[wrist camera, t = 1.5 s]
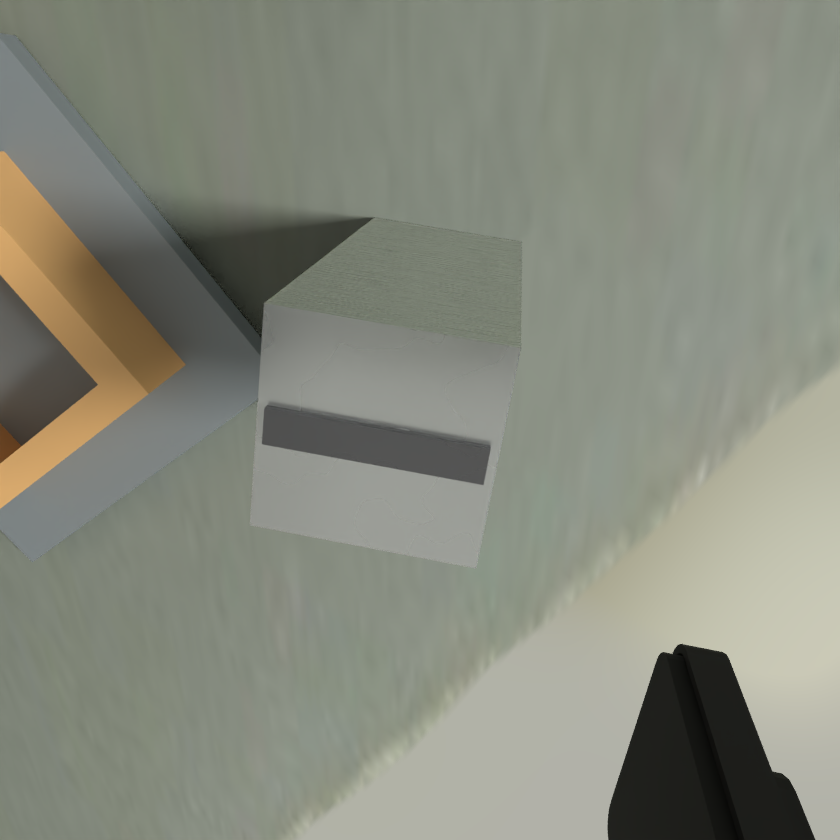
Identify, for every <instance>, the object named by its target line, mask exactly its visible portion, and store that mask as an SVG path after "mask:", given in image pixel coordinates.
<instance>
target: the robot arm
mask: <svg viewBox="0 0 840 840" xmlns="http://www.w3.org/2000/svg"><path fill="white" fill-rule="evenodd" d="M608 839H609V840H815V838H814V835H813V833H812V831H811V828H810V826H809V823H808V821H807V818H806V816H805V813H804V811H803V808H802V806H801V804H800V801H799V799H798V796H797V794H796V791H795V789H794V788H793V786H792V784H791V782H790V780H789V779H788V778H787V777H785V776H784V775H783V774H781V773H776V772H772V770H771V767H770V765H769V762H768V760H767V757H766V754H765V752H764V749H763V747H762V744H761V741H760V739H759V736H758V733H757V731H756V728H755V725H754V723H753V720H752V718H751V715H750V713H749V710H748V707H747V705H746V702H745V699H744V697H743V694H742V692H741V689H740V686H739V684H738V681H737V678H736V676H735V673H734V671H733V668H732V666H731V663H730V660H729V658H728V656H727V655H726V654H725V653H723V652H719V651H714V650H709V649H704V648H698V647H693V646H689V645H683V644H680V645H678V646H677V647H676V648H675V650H674V652H673V654H670V653H665V652H663V653H661V654H660V655H659V656H658V659H657V662H656V664H655V668H654V670H653V674H652V677H651V680H650V683H649V686H648V689H647V692H646V695H645V698H644V701H643V704H642V708H641V711H640V714H639V717H638V720H637V723H636V726H635V729H634V732H633V735H632V738H631V741H630V744H629V748H628V751H627V754H626V757H625V760H624V763H623V766H622V769H621V772H620V775H619V778H618V781H617V785H616V788H615V791H614V794H613V797H612V800H611V804H610V808H609V814H608Z"/></svg>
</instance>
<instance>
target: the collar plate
mask: <svg viewBox="0 0 840 840" xmlns="http://www.w3.org/2000/svg"><path fill="white" fill-rule="evenodd" d="M261 342H262V338H261V337H260V336H259V335H258V333H257V332H256V331H255V330H254V328H253V327H252V326H251V325H250V324H249V322H248V321H247V320H246V319H245V317H244V316H243V315H242V314H241V312H240V311H239V310H238V309H237V308H236V306H235V305H234V304H233V303H232V301H231V300H230V299H229V298H228V296H227V295H226V294H225V293H224V292H223V290H222V289H221V288H220V287H219V285H218V284H217V283H216V282H215V280H214V279H213V278H212V277H211V276H210V274H209V273H208V272H207V271H206V269H205V268H204V267H203V266H202V264H201V263H200V262H199V261H198V260H197V258H196V257H195V256H194V255H193V253H192V252H191V251H190V250H189V248H188V247H187V246H186V245H185V244H184V242H183V241H182V240H181V239H180V237H179V236H178V235H177V234H176V232H175V231H174V230H173V229H172V228H171V226H170V225H169V224H168V223H167V221H166V220H165V219H164V218H163V216H162V215H161V214H160V213H159V212H158V210H157V209H156V208H155V207H154V205H153V204H152V203H151V202H150V200H149V199H148V198H147V197H146V196H145V194H144V193H143V192H142V191H141V189H140V188H139V187H138V186H137V184H136V183H135V182H134V181H133V180H132V178H131V177H130V176H129V175H128V173H127V172H126V171H125V170H124V168H123V167H122V166H121V165H120V164H119V162H118V161H117V160H116V159H115V157H114V156H113V155H112V154H111V152H110V151H109V150H108V149H107V148H106V146H105V145H104V144H103V143H102V141H101V140H100V139H99V138H98V136H97V135H96V134H95V133H94V132H93V130H92V129H91V128H90V127H89V125H88V124H87V123H86V122H85V120H84V119H83V118H82V117H81V116H80V114H79V113H78V112H77V111H76V109H75V108H74V107H73V106H72V104H71V103H70V102H69V101H68V100H67V98H66V97H65V96H64V95H63V93H62V92H61V91H60V90H59V88H58V87H57V86H56V85H55V84H54V82H53V81H52V80H51V79H50V77H49V76H48V75H47V74H46V72H45V71H44V70H43V69H42V68H41V66H40V65H39V64H38V63H37V61H36V60H35V59H34V58H33V56H32V55H31V54H30V53H29V52H28V50H27V49H26V48H25V47H24V45H23V44H22V43H21V42H20V40H19V39H18V38H17V37H16V36H15V35H9V34H1V33H0V530H1V531H2V532H3V533H4V534H5V535H6V536H7V537H8V538H9V539H10V540H11V541H12V542H13V543H14V544H15V545H16V546H17V547H18V548H19V549H20V550H21V551H22V552H23V553H24V554H25V555H26V556H27V557H28V558H29V559H30V560H31V561H32V562H33V561H35V560H36V559H38V558H39V557H40V556H42V555H43V554H44V553H46V552H47V551H49V550H50V549H51V548H53V547H54V546H56V545H57V544H58V543H60V542H61V541H62V540H64V539H65V538H67V537H68V536H69V535H71V534H72V533H74V532H75V531H76V530H78V529H79V528H80V527H82V526H83V525H85V524H86V523H87V522H89V521H90V520H92V519H93V518H94V517H96V516H97V515H98V514H100V513H101V512H103V511H104V510H105V509H107V508H108V507H110V506H111V505H112V504H114V503H115V502H116V501H118V500H119V499H121V498H122V497H123V496H125V495H126V494H128V493H129V492H130V491H132V490H133V489H134V488H136V487H137V486H139V485H140V484H141V483H143V482H144V481H146V480H147V479H148V478H150V477H151V476H152V475H154V474H155V473H157V472H158V471H159V470H161V469H162V468H164V467H165V466H166V465H168V464H169V463H170V462H172V461H173V460H175V459H176V458H177V457H179V456H180V455H181V454H183V453H184V452H186V451H187V450H188V449H190V448H191V447H193V446H194V445H195V444H197V443H198V442H199V441H201V440H202V439H204V438H205V437H206V436H208V435H209V434H211V433H212V432H213V431H215V430H216V429H217V428H219V427H220V426H222V425H223V424H224V423H226V422H227V421H229V420H230V419H231V418H233V417H234V416H235V415H237V414H238V413H240V412H241V411H242V410H244V409H245V408H247V407H248V406H249V405H251V404H252V403H253V402H255V401H256V400H258V390H259V374H260V358H261Z"/></svg>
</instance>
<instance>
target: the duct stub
mask: <svg viewBox="0 0 840 840" xmlns="http://www.w3.org/2000/svg"><path fill="white" fill-rule="evenodd" d="M521 297H522V242H519V241H513V240H507V239H501V238H495V237H489V236H483V235H477V234H471V233H465V232H459V231H453V230H447V229H441V228H435V227H429V226H423V225H417V224H411V223H405V222H399V221H393V220H387V219H381V218H375V217H374V218H373V219H372V220H370V221H369V222H368V223H367V224H365V225H364V226H363V227H361V228H360V229H359V230H358V231H356V232H355V233H354V234H352V235H351V236H350V237H349V238H347V239H346V240H345V241H343V242H342V243H341V244H340V245H338V246H337V247H336V248H334V249H333V250H332V251H331V252H329V253H328V254H327V255H325V256H324V257H323V258H322V259H320V260H319V261H318V262H316V263H315V264H314V265H313V266H311V267H310V268H309V269H307V270H306V271H305V272H303V273H302V274H301V275H300V276H298V277H297V278H296V279H294V280H293V281H292V282H291V283H289V284H288V285H287V286H285V287H284V288H283V289H282V290H280V291H279V292H278V293H276V294H275V295H274V296H273V297H271V298H270V299H269V300H267V301H266V302H265V303H264V311H263V327H262V342H261V358H260V374H259V390H258V406H257V422H256V437H255V453H254V469H253V485H252V501H251V517H250V525H252V526H257V527H262V528H267V529H273V530H278V531H283V532H288V533H294V534H299V535H304V536H309V537H314V538H320V539H325V540H330V541H335V542H341V543H346V544H351V545H356V546H361V547H367V548H372V549H377V550H382V551H388V552H393V553H398V554H403V555H409V556H414V557H419V558H424V559H429V560H435V561H440V562H445V563H450V564H456V565H461V566H466V567H471V568H476V567H477V562H478V557H479V552H480V547H481V542H482V537H483V532H484V528H485V523H486V518H487V513H488V508H489V503H490V498H491V493H492V488H493V483H494V478H495V474H496V469H497V464H498V459H499V454H500V449H501V444H502V439H503V434H504V429H505V424H506V420H507V415H508V410H509V405H510V400H511V395H512V390H513V385H514V380H515V375H516V370H517V365H518V361H519V356H520V351H521Z"/></svg>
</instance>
